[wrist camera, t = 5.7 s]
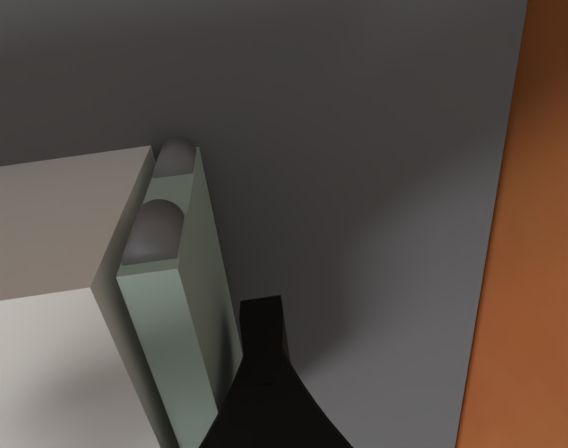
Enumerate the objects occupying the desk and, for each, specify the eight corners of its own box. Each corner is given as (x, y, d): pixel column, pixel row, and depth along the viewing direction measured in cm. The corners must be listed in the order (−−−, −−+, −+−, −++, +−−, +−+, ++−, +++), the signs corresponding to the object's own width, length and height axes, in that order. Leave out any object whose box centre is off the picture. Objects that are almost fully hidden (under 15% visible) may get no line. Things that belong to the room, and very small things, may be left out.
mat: (447, 465, 22) (450, 472, 22) (52, 530, 22) (50, 539, 22) (558, -259, 9) (571, -268, 9) (-478, -139, 8) (-508, -143, 8)
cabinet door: (275, 413, 18) (290, 571, 13) (230, 420, 18) (230, 581, 13) (226, 126, 12) (222, 238, 7) (157, 135, 11) (107, 254, 7)
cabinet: (228, 418, 18) (226, 598, 13) (33, 449, 18) (-46, 645, 13) (150, 145, 12) (90, 287, 7) (-152, 187, 12) (-450, 367, 7)
